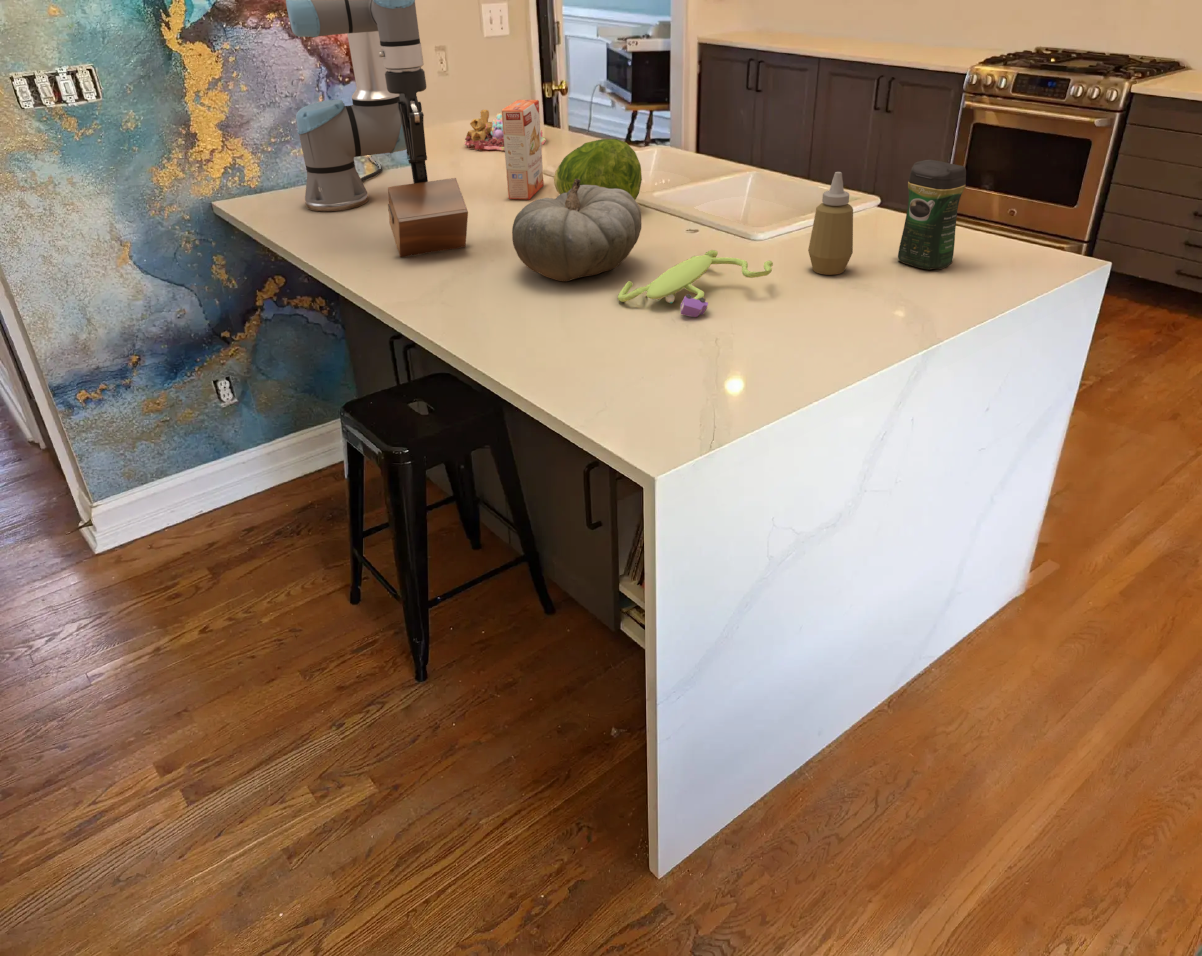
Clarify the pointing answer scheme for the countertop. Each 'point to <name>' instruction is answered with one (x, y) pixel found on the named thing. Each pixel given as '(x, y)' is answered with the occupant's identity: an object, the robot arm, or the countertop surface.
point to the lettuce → (601, 167)
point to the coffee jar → (931, 214)
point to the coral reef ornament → (488, 133)
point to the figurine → (688, 281)
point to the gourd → (577, 232)
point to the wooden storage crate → (427, 217)
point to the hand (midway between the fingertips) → (422, 194)
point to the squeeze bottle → (832, 231)
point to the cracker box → (523, 148)
